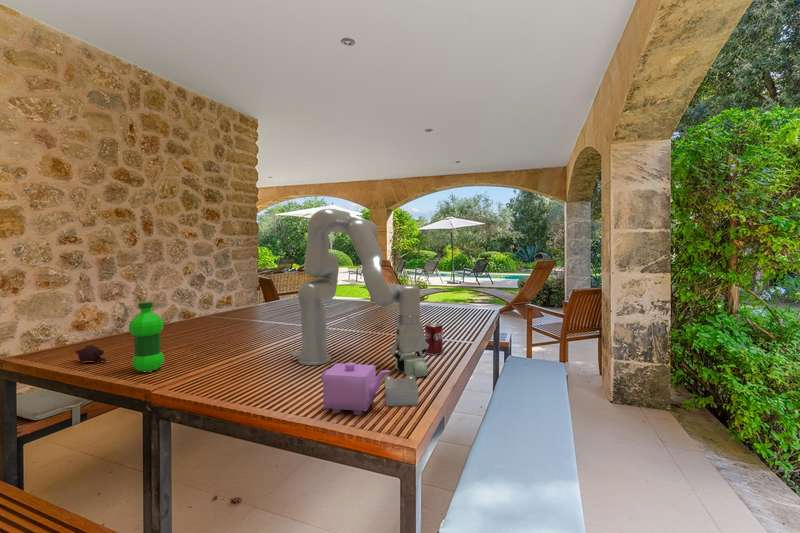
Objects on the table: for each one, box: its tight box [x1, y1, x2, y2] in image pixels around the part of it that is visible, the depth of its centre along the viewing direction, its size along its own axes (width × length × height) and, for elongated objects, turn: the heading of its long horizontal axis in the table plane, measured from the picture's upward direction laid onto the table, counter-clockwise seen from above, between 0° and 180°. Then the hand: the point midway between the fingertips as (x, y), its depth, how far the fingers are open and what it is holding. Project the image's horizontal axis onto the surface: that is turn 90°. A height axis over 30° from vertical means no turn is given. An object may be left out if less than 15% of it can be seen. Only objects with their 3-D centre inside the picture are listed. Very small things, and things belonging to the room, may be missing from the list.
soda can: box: [424, 322, 444, 356], centre depth 160 cm, size 7×7×12 cm
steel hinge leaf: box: [384, 375, 419, 407], centre depth 114 cm, size 9×12×5 cm
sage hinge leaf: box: [394, 352, 428, 378], centre depth 136 cm, size 6×14×5 cm, turn 29°
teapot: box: [320, 361, 391, 416], centre depth 107 cm, size 20×10×12 cm, turn 79°
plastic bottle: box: [128, 301, 165, 372], centre depth 140 cm, size 10×10×25 cm
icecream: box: [74, 344, 107, 362], centre depth 152 cm, size 7×7×15 cm
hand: (409, 368), depth 138 cm, fingers open, 6 cm apart
